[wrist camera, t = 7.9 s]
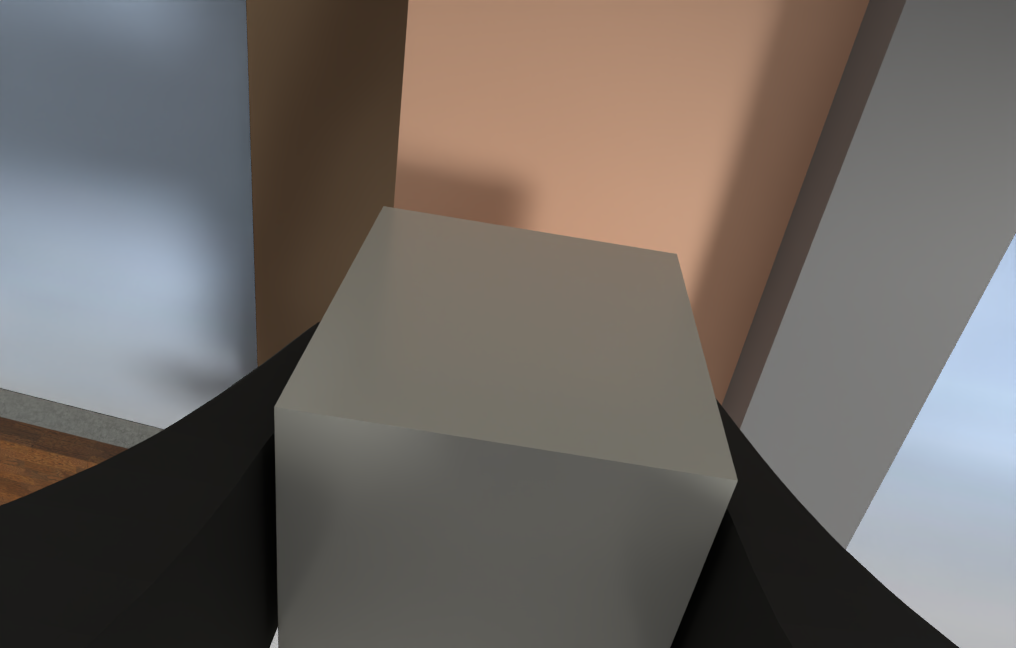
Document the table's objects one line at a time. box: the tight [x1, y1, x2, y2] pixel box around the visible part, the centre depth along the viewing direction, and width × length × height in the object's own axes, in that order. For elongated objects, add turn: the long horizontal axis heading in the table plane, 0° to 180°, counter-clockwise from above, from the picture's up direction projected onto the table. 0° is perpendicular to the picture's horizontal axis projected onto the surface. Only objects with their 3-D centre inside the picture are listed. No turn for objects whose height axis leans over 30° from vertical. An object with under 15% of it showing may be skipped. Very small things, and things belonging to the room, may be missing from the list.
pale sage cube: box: [274, 206, 738, 648], centre depth 11 cm, size 4×4×5 cm
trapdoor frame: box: [246, 0, 409, 367], centre depth 17 cm, size 18×19×6 cm
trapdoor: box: [394, 0, 1016, 550], centre depth 15 cm, size 10×14×3 cm
